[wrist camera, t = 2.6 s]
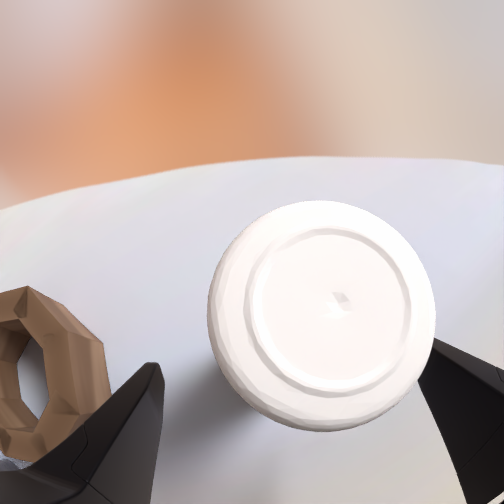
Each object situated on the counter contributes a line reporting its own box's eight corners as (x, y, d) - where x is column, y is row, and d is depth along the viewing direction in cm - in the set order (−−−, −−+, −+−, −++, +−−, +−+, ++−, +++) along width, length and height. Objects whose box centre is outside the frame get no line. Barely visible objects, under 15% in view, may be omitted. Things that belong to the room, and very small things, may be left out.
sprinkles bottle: (311, 387, 16) (459, 395, 4) (237, 396, 16) (215, 455, 4) (302, 317, 18) (406, 189, 6) (230, 324, 18) (198, 198, 5)
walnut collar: (72, 479, 12) (37, 493, 8) (-11, 380, 14) (-46, 374, 10) (138, 372, 16) (107, 369, 12) (42, 282, 18) (8, 259, 14)
